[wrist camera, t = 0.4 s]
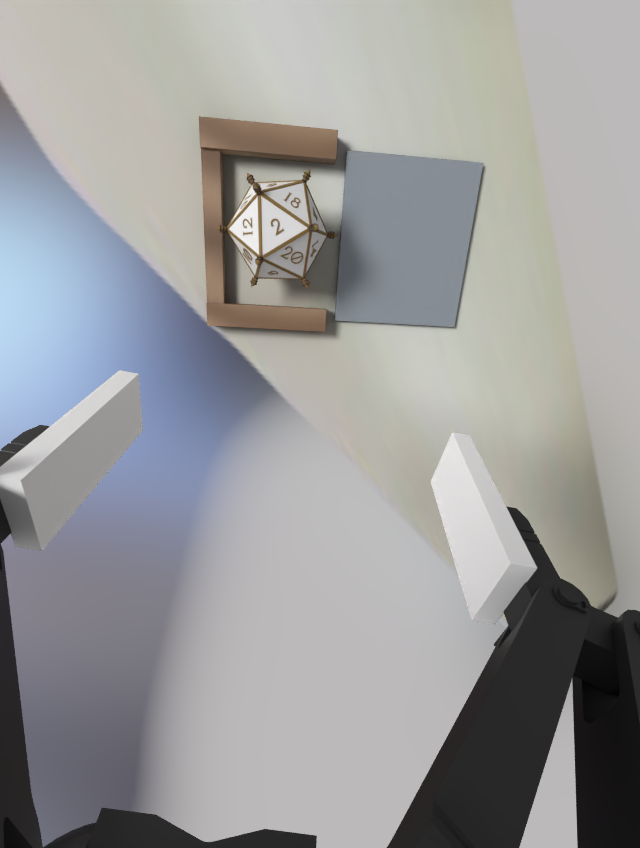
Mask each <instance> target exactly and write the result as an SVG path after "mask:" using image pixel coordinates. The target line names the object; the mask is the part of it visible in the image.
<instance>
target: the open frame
mask: <svg viewBox="0 0 640 848" xmlns="http://www.w3.org/2000/svg"><path fill="white" fill-rule="evenodd" d="M199 130H200V147H201V160H202V185H203V210H204V236H205V261H206V286H207V325H209V326H228V327H246V328H265V329H283V330H302V331H321V332H325V326H326V309H320V308H303V307H286V306H269V305H252V304H235V303H226V287H225V244H224V233H223V232H221V233H220V232H219V231H218V230H216V229H215V228H217V227H218V226H220V225H221V226H223V225H224V202H223V159H222V154H226V155H237V156H248V157H259V158H270V159H281V160H292V161H303V162H314V163H326V164H335V161H336V153H337V137H338V130H332V129H321V128H311V127H301V126H291V125H281V124H270V123H260V122H250V121H240V120H229V119H219V118H209V117H199Z"/></svg>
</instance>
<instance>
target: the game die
mask: <svg viewBox="0 0 640 848" xmlns="http://www.w3.org/2000/svg"><path fill="white" fill-rule="evenodd" d="M310 177H311V176H310V170H308V171H306V172H304V175H303V179H302V180H295V181H274V182H254V180H255V179H254V178H253V176H252V175H250V174H248V173H247V180H248V181H249V182H248V183H250V184H251V186H250V188H249V190H248V191H247V193H246V195H245V196H244V198H243V200H242V202H241V203H240V205H239V207H238V209H237V210H236V212H235V214H234V216H233V217H232V219H231V221H230V223H229V224H228V226H227V227H225V226H224V225H223V226H221V225H220V226H218V227H217V228H215V229H216V230H218V231H219V232H220V233H221V232H223V233H224V232H228V233H229V235H230V237H231V238H232V240H233V242H234V243H235V245H236V247H237V248H238V250H239V252H240V253H241V255H242V257H243V258H244V260H245V262H246V263H247V265H248V267H249V268H250V270H251V271H252V273H253V275H254V278H252V281H251V287H252V286H254V285H257V284H256V283H257V282H258V281H257V280H258V278H264V279H301V280H302V283H303V286H305V287H307V288H308V289H309V282H308V280H307V279H306V278H305V276H306V275H307V273H308V271H309V269H310V267H311V265H312V264H313V262H314V260H315V258H316V256H317V255H318V253H319V251H320V249H321V247H322V245H323V244H324V242H325V240H326V238H327V237H329V238H330V239H331V238H332V239H333V238H334V237H336V236H338V235H336V234H335V233H334V232H329V233H327V231H326V228H325V226H324V224H323V221H322V219H321V217H320V214H319V212H318V210H317V207H316V205H315V203H314V200H313V198H312V196H311V193H310V191H309V189H308V186H307V184H306V182H307V181H308V180H309V178H310Z"/></svg>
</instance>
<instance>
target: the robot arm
mask: <svg viewBox="0 0 640 848" xmlns="http://www.w3.org/2000/svg"><path fill="white" fill-rule="evenodd" d="M141 413H142V412H141V399H140V386H139V374H136V373H131V372H126V371H118V372H117V373H116V374H114V375H113V376H112V377H111V378H109V379H108V380H107V381H106V382H105V383H103V384H102V385H101V386H100V387H98V388H97V389H96V390H95V391H93V392H92V393H91V394H90V395H89V396H87V397H86V398H85V399H83V400H82V401H81V402H80V403H79V404H78V405H76V406H75V407H74V408H72V409H71V410H70V411H69V412H67V413H66V414H65V415H64V416H63V417H61V418H60V419H59V420H58V421H56V422H55V423H54V424H53V425H51V426H50V427H49V426H43V425H39V426H37V427H35V428H32V429H30V430H27V431H25V432H23V433H22V434H21V435H19V436H18V437H17V438H15V439H14V440H13V441H11V444H7V445H6V446H5V447H3V448H2V449H1V451H0V848H316V837H317V836H313V835H306V834H299V833H290V832H283V831H276V830H268V829H263V830H259V831H255V832H251V833H247V834H243V835H239V836H235V837H230V838H226V839H222V840H218V841H214V842H204V841H201V840H199V839H198V838H196V837H194V836H192V835H191V834H189V833H187V832H185V831H184V830H182V829H180V828H178V827H176V826H175V825H173V824H171V823H169V822H168V821H166V820H164V819H162V818H161V817H159V816H157V815H153V814H146V813H138V812H130V811H123V810H114V809H108V808H102V809H101V812H100V814H99V817H98V820H97V822H96V823H92V824H88V825H85V826H82V827H80V828H77V829H74V830H72V831H70V832H68V833H66V834H65V835H63V836H61V837H59V838H57V839H55V840H54V841H52V842H51V843H49V844H48V845H46V846H45V847H43V846H42V839H41V833H40V827H39V822H38V817H37V814H36V810H35V807H34V803H33V798H32V793H31V786H30V777H29V769H28V760H27V752H26V744H25V734H24V726H23V717H22V709H21V700H20V691H19V683H18V674H17V666H16V657H15V649H14V640H13V631H12V623H11V614H10V606H9V597H8V588H7V580H6V571H5V562H4V554H3V549H2V547H1V543H2V541H4V539H6V537H7V536H8V535H9V534H10V533H11V535H12V538H13V541H14V544H15V547H20V548H26V549H32V550H38V551H43V549H44V548H45V547H46V546H47V545H48V543H49V542H50V541H51V540H52V539H53V537H54V536H55V535H56V534H57V533H58V531H59V530H60V529H61V528H62V527H63V525H64V524H65V523H66V522H67V521H68V519H69V518H70V517H71V516H72V515H73V513H74V512H75V511H76V510H77V508H78V507H79V506H80V505H81V504H82V503H83V501H84V500H85V499H86V498H87V497H88V495H89V494H90V493H91V492H92V491H93V489H94V488H95V487H96V486H97V485H98V483H99V482H100V481H101V480H102V479H103V477H104V476H105V475H106V474H107V473H108V471H109V470H110V469H111V468H112V467H113V465H114V464H115V463H116V462H117V461H118V459H119V458H120V457H121V456H122V455H123V453H124V452H125V451H126V450H127V449H128V447H129V446H130V445H131V444H132V443H133V441H134V440H135V439H136V438H137V437H138V435H139V434H140V433H141V432H142V431H143V426H142V414H141ZM431 484H432V488H433V491H434V494H435V498H436V501H437V505H438V508H439V511H440V515H441V518H442V522H443V525H444V528H445V532H446V535H447V538H448V542H449V545H450V549H451V552H452V555H453V559H454V562H455V566H456V569H457V572H458V576H459V579H460V583H461V586H462V589H463V593H464V596H465V600H466V603H467V606H468V609H469V613H470V616H471V620H472V621H477V622H483V623H490V624H496V623H497V622H498V620H499V619H500V618H501V616H502V615H503V614H505V617H506V620H507V622H508V625H509V626H508V627H507V628H506V629H505V631H504V632H503V633H502V635H501V636H500V637H499V638H498V640H497V641H496V642H495V644H494V646H496V647H495V649H494V651H493V653H492V655H491V657H490V658H489V660H488V662H487V664H486V666H485V668H484V670H483V671H482V673H481V675H480V677H479V679H478V681H477V682H476V684H475V686H474V688H473V690H472V692H471V694H470V695H469V697H468V699H467V701H466V703H465V705H464V707H463V708H462V710H461V712H460V714H459V716H458V718H457V720H456V722H455V723H454V725H453V727H452V729H451V731H450V733H449V734H448V736H447V738H446V740H445V742H444V744H443V746H442V747H441V749H440V751H439V753H438V755H437V757H436V759H435V760H434V762H433V764H432V766H431V768H430V770H429V772H428V774H427V775H426V777H425V779H424V781H423V783H422V785H421V786H420V789H419V790H418V792H417V794H416V796H415V798H414V800H413V802H412V803H411V805H410V807H409V809H408V811H407V813H406V814H405V816H404V818H403V820H402V822H401V824H400V825H399V827H398V829H397V831H396V833H395V835H394V837H393V839H392V840H391V842H390V844H389V845H388V847H387V848H519V846H520V843H521V840H522V837H523V833H524V830H525V827H526V824H527V820H528V817H529V814H530V811H531V808H532V805H533V801H534V798H535V795H536V792H537V788H538V785H539V782H540V779H541V775H542V773H543V769H544V766H545V763H546V760H547V757H548V753H549V750H550V747H551V744H552V740H553V737H554V734H555V731H556V728H557V725H558V721H559V718H560V715H561V712H562V709H563V705H564V702H565V699H566V695H567V692H568V689H569V686H570V683H571V679H573V712H574V743H575V775H576V803H577V804H576V807H577V839H578V848H640V612H639V611H637V610H627V611H625V612H624V613H623V614H622V615H621V616H620V617H619V618H617V617H615V616H613V615H610V614H608V613H606V612H603V611H601V610H599V609H596V608H594V607H592V606H591V605H590V603H589V601H588V599H587V598H586V597H585V595H584V594H583V593H582V592H581V591H580V590H579V589H578V588H576V587H575V586H574V585H573V584H571V583H569V582H567V581H565V580H563V579H560V577H559V575H558V573H557V572H556V570H555V568H554V566H553V564H552V563H551V561H550V559H549V557H548V555H547V554H546V552H545V550H544V548H543V546H542V545H541V544H540V541H539V539H538V537H537V535H536V534H534V530H533V528H532V526H531V525H530V523H529V521H528V520H527V519H526V518H525V517H524V515H523V514H522V513H521V512H520V511H519V510H518V509H517V508H511V507H506V505H505V503H504V501H503V500H502V498H501V496H500V494H499V492H498V490H497V488H496V486H495V484H494V482H493V480H492V478H491V476H490V474H489V472H488V470H487V468H486V466H485V464H484V462H483V460H482V458H481V456H480V454H479V452H478V450H477V448H476V446H475V444H474V442H473V441H472V439H471V437H470V435H464V434H459V433H454V432H452V434H451V437H450V439H449V441H448V444H447V446H446V448H445V450H444V453H443V455H442V457H441V460H440V462H439V464H438V466H437V469H436V471H435V473H434V476H433V478H432V480H431Z"/></svg>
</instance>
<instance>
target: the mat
mask: <svg viewBox="0 0 640 848" xmlns="http://www.w3.org/2000/svg"><path fill="white" fill-rule="evenodd" d="M482 168H483V163H479V162H468V161H457V160H447V159H436V158H425V157H415V156H404V155H393V154H383V153H372V152H361V151H351V150H347V155H346V169H345V183H344V197H343V211H342V225H341V239H340V253H339V267H338V281H337V295H336V309H335V320H337V321H355V322H373V323H390V324H408V325H426V326H444V327H454V326H455V320H456V315H457V309H458V304H459V298H460V292H461V287H462V281H463V275H464V270H465V264H466V258H467V253H468V247H469V242H470V236H471V230H472V225H473V219H474V213H475V208H476V202H477V196H478V191H479V185H480V179H481V174H482Z"/></svg>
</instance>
